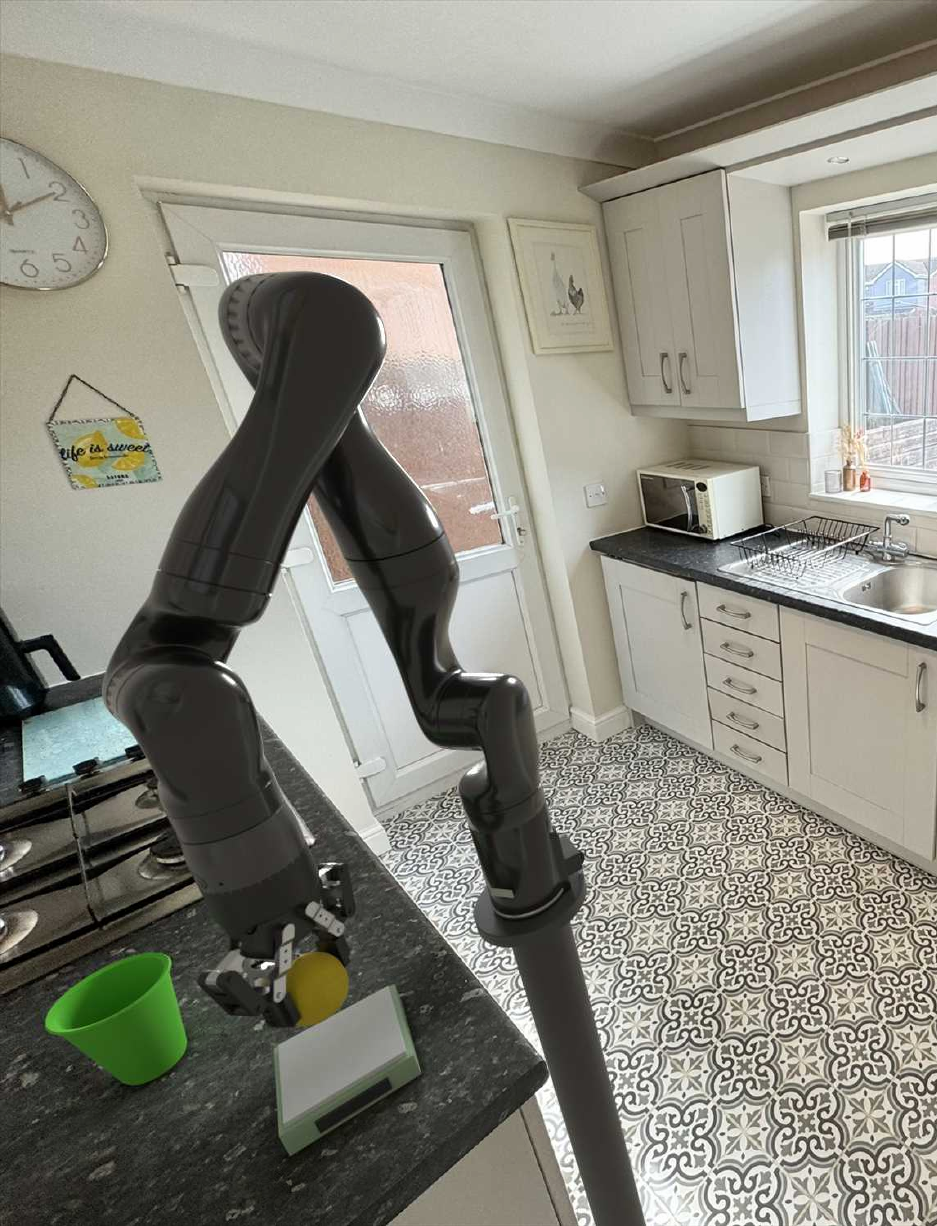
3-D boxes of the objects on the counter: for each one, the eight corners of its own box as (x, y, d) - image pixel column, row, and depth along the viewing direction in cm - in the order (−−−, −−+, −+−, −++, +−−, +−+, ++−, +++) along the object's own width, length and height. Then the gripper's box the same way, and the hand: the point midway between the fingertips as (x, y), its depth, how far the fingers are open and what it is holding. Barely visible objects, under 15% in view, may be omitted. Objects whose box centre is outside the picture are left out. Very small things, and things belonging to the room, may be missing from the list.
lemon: (308, 1055, 60) (278, 995, 57) (281, 1028, 63) (251, 970, 60) (370, 1006, 65) (345, 948, 62) (342, 983, 67) (317, 927, 64)
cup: (213, 1060, 69) (171, 988, 65) (92, 1127, 63) (37, 1053, 59) (209, 1005, 75) (170, 936, 71) (98, 1062, 69) (49, 991, 65)
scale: (401, 1001, 74) (392, 979, 73) (422, 1075, 66) (412, 1052, 65) (283, 1067, 68) (271, 1044, 66) (290, 1158, 60) (276, 1135, 58)
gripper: (214, 925, 49) (289, 1069, 56) (352, 805, 63) (400, 933, 69) (126, 923, 50) (210, 1066, 56) (281, 805, 63) (335, 931, 69)
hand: (314, 992), depth 63 cm, fingers closed on lemon, 5 cm apart
